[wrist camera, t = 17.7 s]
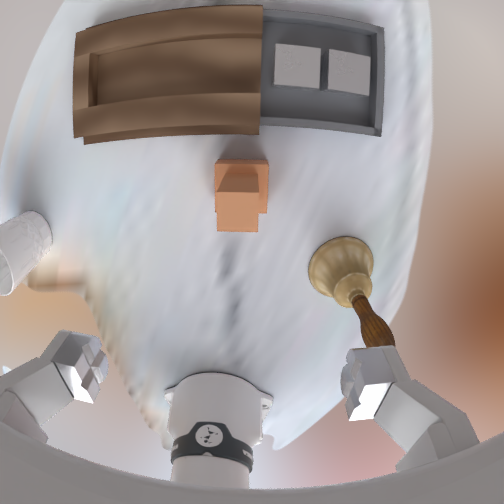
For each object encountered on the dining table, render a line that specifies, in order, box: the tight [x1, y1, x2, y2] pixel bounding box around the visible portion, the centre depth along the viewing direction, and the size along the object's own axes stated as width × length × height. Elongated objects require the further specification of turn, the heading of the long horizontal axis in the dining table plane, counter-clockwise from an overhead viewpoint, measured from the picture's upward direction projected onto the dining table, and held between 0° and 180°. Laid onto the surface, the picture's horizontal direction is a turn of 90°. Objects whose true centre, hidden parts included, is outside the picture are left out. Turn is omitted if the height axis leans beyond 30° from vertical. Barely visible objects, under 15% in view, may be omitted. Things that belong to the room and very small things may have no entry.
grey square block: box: [320, 49, 370, 97], centre depth 23 cm, size 4×4×3 cm
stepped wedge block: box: [215, 159, 269, 232], centre depth 26 cm, size 5×5×10 cm
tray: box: [260, 9, 385, 137], centre depth 24 cm, size 12×12×2 cm
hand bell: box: [308, 237, 395, 348], centre depth 27 cm, size 8×8×16 cm
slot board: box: [73, 5, 263, 145], centre depth 23 cm, size 14×19×3 cm
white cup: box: [0, 211, 52, 296], centre depth 28 cm, size 8×8×10 cm
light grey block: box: [272, 44, 321, 91], centre depth 23 cm, size 4×4×3 cm
